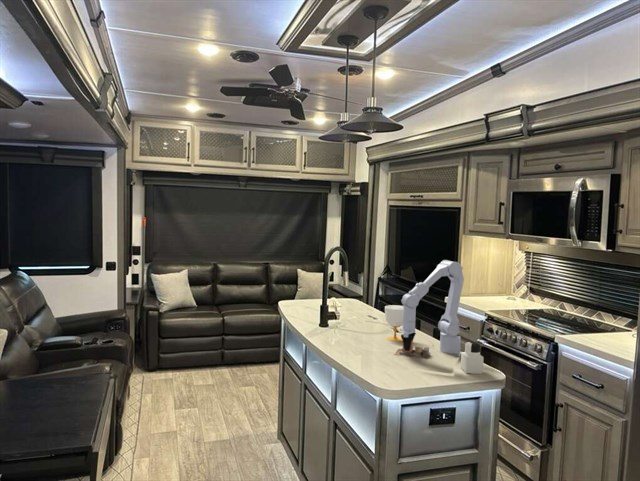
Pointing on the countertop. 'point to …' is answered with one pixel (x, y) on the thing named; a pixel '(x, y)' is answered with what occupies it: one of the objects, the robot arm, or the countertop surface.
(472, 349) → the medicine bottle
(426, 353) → the cracker bench
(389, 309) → the cup
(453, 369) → the countertop surface
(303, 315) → the countertop surface
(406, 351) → the block
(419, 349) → the cylinder
